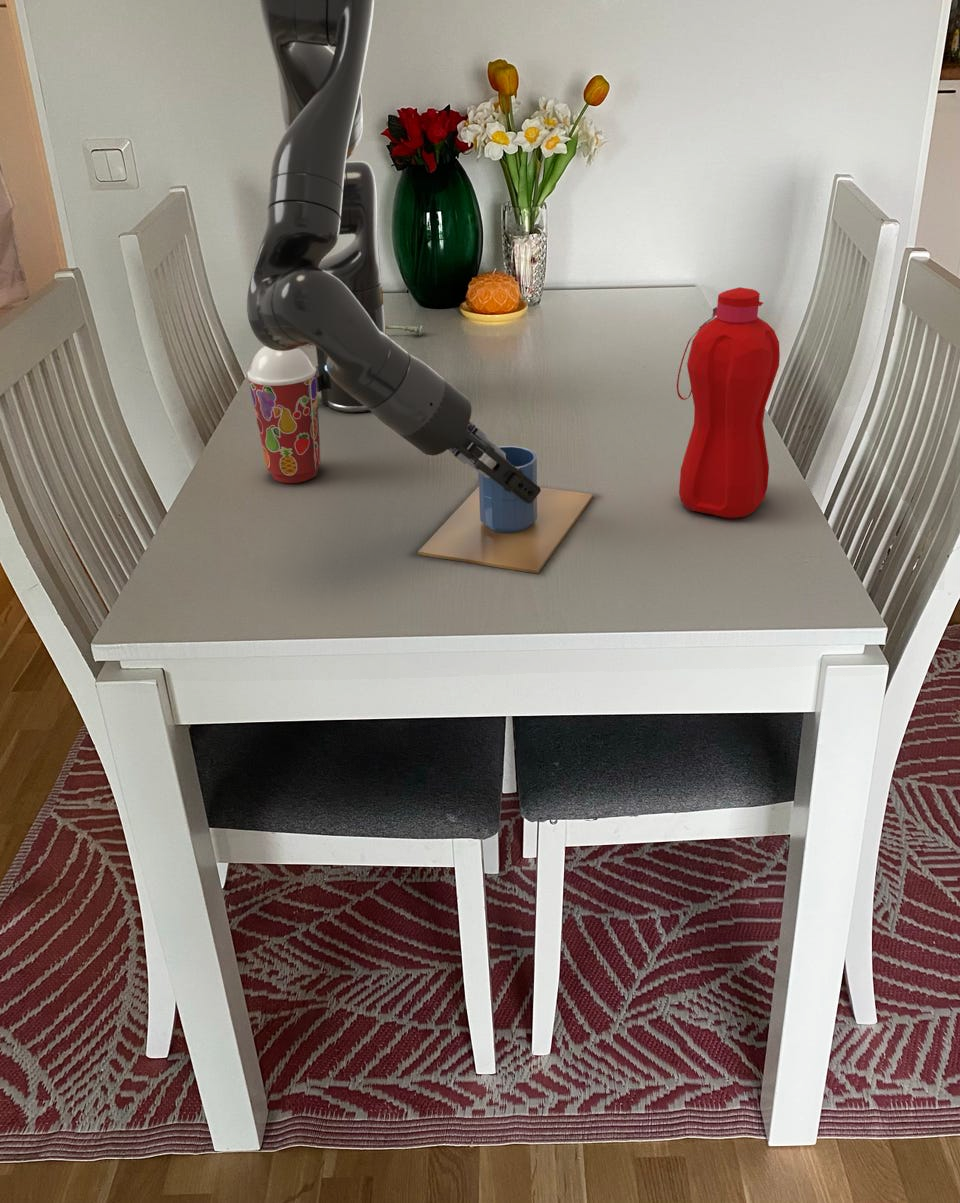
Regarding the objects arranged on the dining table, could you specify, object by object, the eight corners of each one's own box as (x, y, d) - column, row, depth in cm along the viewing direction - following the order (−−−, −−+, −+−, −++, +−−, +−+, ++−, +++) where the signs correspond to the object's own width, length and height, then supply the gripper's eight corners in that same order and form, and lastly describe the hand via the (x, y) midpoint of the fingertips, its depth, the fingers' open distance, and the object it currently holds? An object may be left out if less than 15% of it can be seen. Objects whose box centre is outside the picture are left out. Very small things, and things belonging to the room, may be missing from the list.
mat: (418, 554, 126) (417, 551, 126) (484, 482, 142) (484, 479, 142) (538, 574, 122) (538, 570, 122) (593, 497, 138) (593, 494, 137)
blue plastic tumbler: (471, 530, 130) (469, 465, 126) (492, 506, 135) (490, 443, 131) (525, 538, 128) (524, 472, 124) (544, 513, 133) (544, 449, 129)
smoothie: (338, 465, 149) (322, 312, 138) (309, 491, 142) (290, 332, 132) (281, 458, 151) (261, 307, 141) (249, 484, 144) (226, 327, 134)
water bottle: (685, 478, 141) (698, 274, 129) (772, 495, 136) (795, 284, 124) (656, 508, 134) (666, 294, 122) (746, 527, 129) (767, 306, 117)
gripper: (465, 395, 114) (571, 481, 124) (415, 355, 126) (515, 436, 135) (419, 455, 115) (527, 535, 125) (373, 409, 127) (475, 486, 136)
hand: (520, 484), depth 130 cm, fingers closed on blue plastic tumbler, 6 cm apart
